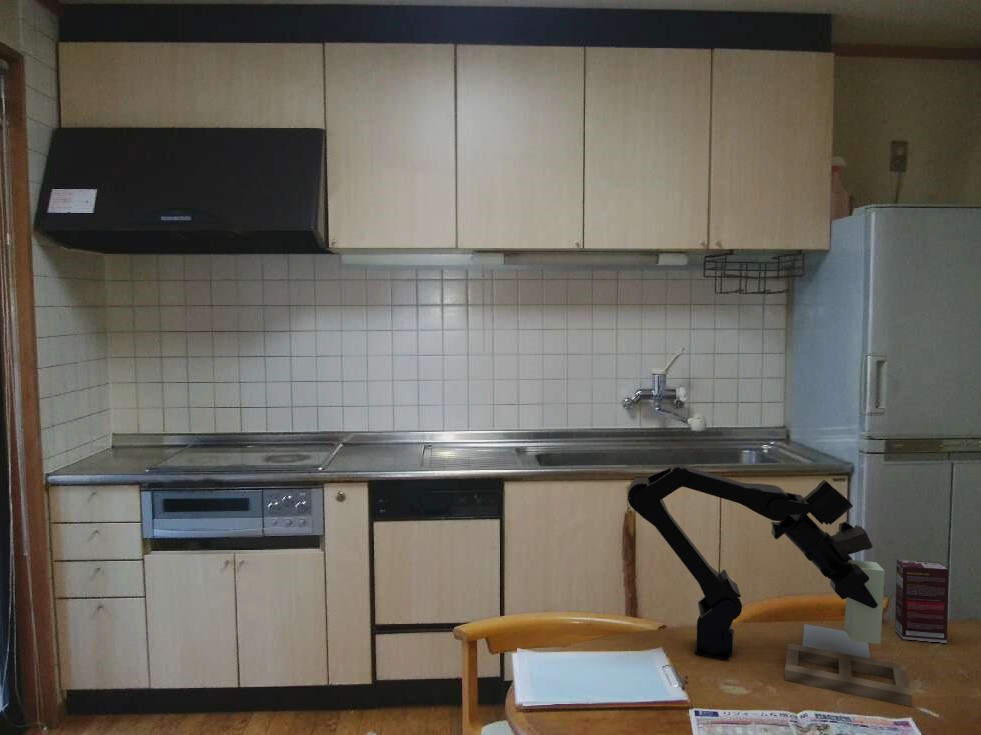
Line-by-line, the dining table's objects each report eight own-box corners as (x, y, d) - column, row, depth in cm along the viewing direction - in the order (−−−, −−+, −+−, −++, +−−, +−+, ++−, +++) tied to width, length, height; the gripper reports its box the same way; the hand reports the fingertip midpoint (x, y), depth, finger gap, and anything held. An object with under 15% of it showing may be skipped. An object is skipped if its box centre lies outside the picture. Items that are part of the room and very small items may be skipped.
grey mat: (802, 651, 139) (802, 646, 139) (804, 628, 149) (804, 623, 149) (870, 664, 133) (870, 659, 133) (867, 639, 144) (867, 634, 144)
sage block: (851, 640, 130) (855, 567, 130) (844, 629, 135) (848, 559, 134) (880, 644, 129) (884, 570, 128) (872, 633, 134) (876, 562, 133)
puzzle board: (784, 680, 127) (784, 669, 127) (788, 652, 138) (788, 643, 138) (910, 706, 118) (911, 695, 118) (904, 675, 129) (904, 664, 129)
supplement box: (938, 634, 146) (940, 561, 146) (947, 645, 142) (950, 569, 141) (893, 630, 148) (895, 558, 148) (901, 640, 144) (903, 565, 143)
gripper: (858, 526, 123) (924, 592, 121) (831, 501, 141) (888, 558, 139) (809, 566, 125) (873, 631, 123) (789, 536, 143) (845, 593, 141)
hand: (871, 601), depth 131 cm, fingers closed on sage block, 5 cm apart
